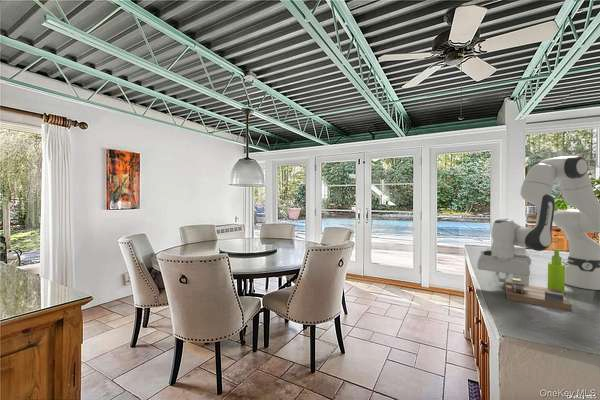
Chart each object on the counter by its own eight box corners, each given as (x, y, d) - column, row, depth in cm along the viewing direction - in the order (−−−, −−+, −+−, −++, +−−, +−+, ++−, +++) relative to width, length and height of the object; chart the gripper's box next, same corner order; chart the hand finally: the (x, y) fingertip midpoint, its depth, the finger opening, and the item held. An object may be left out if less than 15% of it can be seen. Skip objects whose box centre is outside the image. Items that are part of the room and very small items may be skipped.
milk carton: (528, 287, 136) (529, 248, 136) (512, 286, 137) (513, 248, 137) (520, 283, 143) (521, 246, 143) (505, 281, 144) (505, 245, 144)
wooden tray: (505, 286, 135) (505, 275, 135) (560, 295, 124) (560, 283, 124) (507, 299, 117) (507, 286, 117) (571, 311, 106) (572, 296, 106)
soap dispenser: (569, 294, 125) (570, 251, 125) (549, 291, 129) (550, 249, 129) (565, 291, 130) (566, 249, 130) (546, 288, 134) (547, 247, 134)
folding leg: (523, 293, 117) (524, 286, 117) (513, 292, 119) (513, 284, 119) (520, 284, 130) (520, 277, 130) (511, 283, 132) (511, 276, 132)
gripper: (530, 254, 127) (529, 284, 127) (477, 249, 139) (477, 276, 139) (531, 257, 122) (531, 288, 122) (477, 251, 134) (476, 279, 134)
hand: (502, 281), depth 130 cm, fingers closed
